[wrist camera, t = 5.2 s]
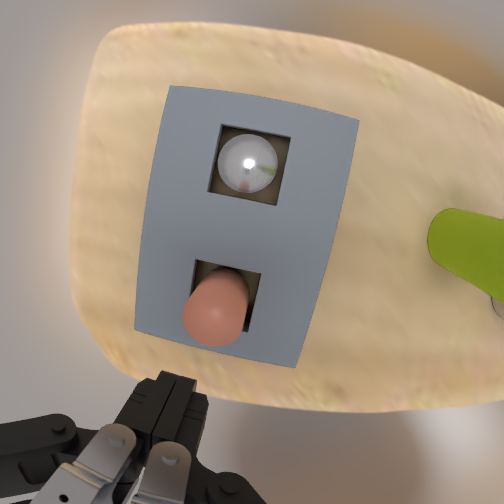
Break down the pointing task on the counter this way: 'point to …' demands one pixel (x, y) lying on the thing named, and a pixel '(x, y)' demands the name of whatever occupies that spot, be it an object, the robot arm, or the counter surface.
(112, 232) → the counter surface
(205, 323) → the terracotta plug
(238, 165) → the steel plug
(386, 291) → the counter surface
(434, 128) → the counter surface
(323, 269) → the plug board
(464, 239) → the soap dispenser
